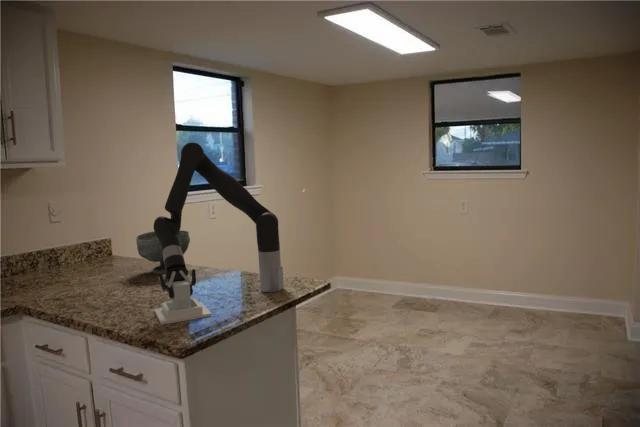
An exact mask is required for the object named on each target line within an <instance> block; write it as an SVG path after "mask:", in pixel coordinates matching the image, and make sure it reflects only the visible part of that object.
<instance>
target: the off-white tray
mask: <svg viewBox="0 0 640 427" xmlns="http://www.w3.org/2000/svg"><path fill="white" fill-rule="evenodd" d="M153 311H154V313H155V315H156V316H155V317H157V320H158V322H159V323H160V325H161V326H162V325H166V324H167V325H168V324H173V323H178V322H184V321H191V320H196V319H201V318H207V317H212V312H211V311H210V310H209V308H208V307H207V306H205V304H204V303H203V302H202V301H198V300H197V299H196V298H195V297H191V308H186V309H180V310H173V309H172V300H171V301H170V300H169V301H164V302H161V307H160V308H154V310H153Z"/></svg>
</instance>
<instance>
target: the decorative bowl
mask: <svg viewBox="0 0 640 427" xmlns="http://www.w3.org/2000/svg"><path fill="white" fill-rule="evenodd" d="M189 234H190V233H189V231H187V230H180V231H179V233H178V234H177V235H176V236H177V237H178V239H179V242H180V247H181V250H182V252H183V255H184V254H186V252H187V251H188V248H189V244H190V243H191V238H190V235H189ZM135 240H136V247H137V253H138V255H139V256H140V257H141V258H143V259H145V260H147V261H149V262H153V263H157V262H159V265H158V266H155V267H154V268H153V269H152V273H153V274H157V275H159V274H162V275H163V274H166V269H165V264H164V260H163V250H162V245H161V243H160V241H159V239H158V237H157V236H156V234H155V231H148V232H145V233H141V234H139V235H137V236H136V237H135Z"/></svg>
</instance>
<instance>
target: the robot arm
mask: <svg viewBox="0 0 640 427" xmlns="http://www.w3.org/2000/svg"><path fill="white" fill-rule="evenodd" d="M178 164H179V165H178V169H177V173H176V176H175V178H174V180H173V183H172V186H171V188H170V191H169V194H168V196H167V199H166V201H165V202H166V203H165V205H164V210H165V212H168V213H169V214H170V217H167V216H163V215H162V216H161V215H160V216H158V217H156V218H155V220H154V223H153V230H154V231H155V234H156V236H157V237H158V239H159V241H160V243H161V245H162V250H163V260H164V264H165V269H166V273H163V274H158V281H159V284H160V287H161V289H162V291H167V292H168V297H169V298H171V300H172V299H173V297H174V296H173V290H172V283H173V282H176V281H186V282H188V283H189V284H190V296H191V297H192V295H193V294H194V290H193V287H195V286H196V282H197V277H196V276H197V274H196V269H194V268H192V270H188V269H187V266H186V263H185V258H184V254H183V252H182V250H181V247H180V242H179V239H178V237H177V236H176V235H177V234H178V233H179V231H181V227H182V217H183V216H182V214H183V209H184V206H185V204H186V200H187V197H188V195H189V191H190V190H189V189H190V187H191V182H192V179H193V176H194V173H195V172H196V173H197V174H198V175H200V176H201V177H202V178H203V179H204V180H206V182H207V183H208V184H209V185H210V187H212V188H213V190H215V191H216V193H217V194H219V195H220V196H221V197H222V198H223V199H224V200H225V201H226V202H227V203H229V204H230V205H232V206H233V207H234V208H236V209H238V210H239V211H241V212H242V213H244V214H245V215H247V217H248V218H250V219H251V221H253V223H254V224H255V232H256V245H257V252H258V255H257V256H258V271H259V284H260V291H261V292H263V293H277V292H280V291H282V290H283V289H285V288H284V287H285V286H284V269H283V266H282V264H281V247H280V246H281V245H280V233H279V219H278V217H277V216H276V214H275V213H273V212H272V211H271V210H269V209H268V208H266V207H265V206H264V205H262V204H261V203H260V202H258V200H256V198H255V197H254V196H253V195H252V194H251V193H250V192H249V191H248V190H247V189H246V187H244V186H243V185H242V184H241V183H240V182H239V181H238V180H237V179H236V178H235V177H233V175H231V174H230V173H228V172H227V171H225V170H224V169H222V168H221V167H219V166H217V165H216V164H215V163H214V162H213V161H212V160H211V158H209V156H207V154H206V153H205V151H204V149H203V146H201V144H199V143H197V142H194V141H193V142H192V141H190V142H188V143H186V144H185V145H183V146H182V148H181V151H180V160H179V163H178ZM154 231H153V232H154ZM188 275H189V277H191V281H190V279H189V277H188ZM165 279H168V280H169V281H168V284H166V282H165Z"/></svg>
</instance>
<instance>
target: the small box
mask: <svg viewBox="0 0 640 427" xmlns="http://www.w3.org/2000/svg"><path fill="white" fill-rule="evenodd" d="M172 290H173V296H174V297H173V299H171V301H172V309H173V310H180V309H186V308H191V298H192V295H191V296H190V284H189V283H188V282H186V281H176V282H173V283H172Z"/></svg>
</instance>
